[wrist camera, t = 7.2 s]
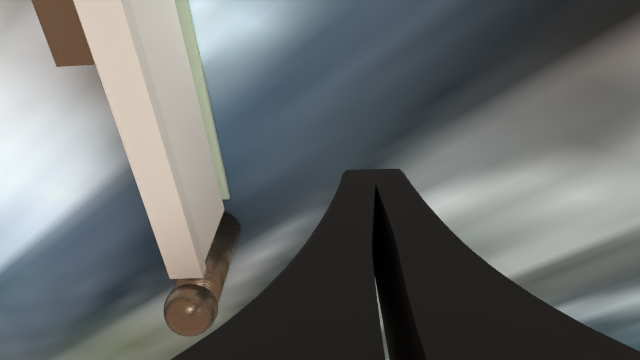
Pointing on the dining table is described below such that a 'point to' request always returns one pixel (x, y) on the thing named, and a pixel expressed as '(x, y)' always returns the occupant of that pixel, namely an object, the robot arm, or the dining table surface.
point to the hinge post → (203, 285)
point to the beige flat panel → (158, 123)
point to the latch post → (63, 32)
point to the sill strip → (201, 92)
